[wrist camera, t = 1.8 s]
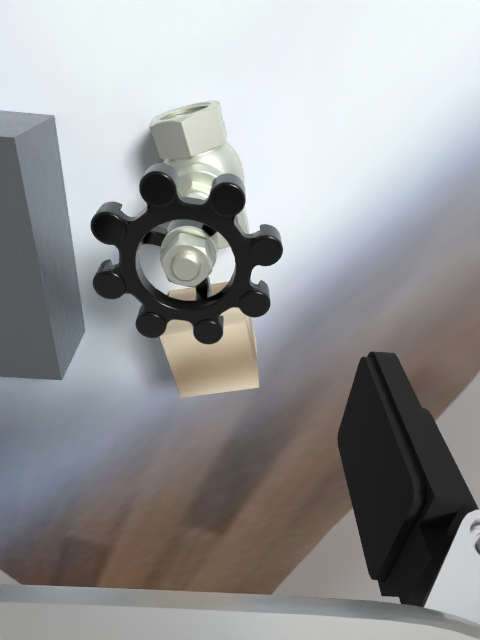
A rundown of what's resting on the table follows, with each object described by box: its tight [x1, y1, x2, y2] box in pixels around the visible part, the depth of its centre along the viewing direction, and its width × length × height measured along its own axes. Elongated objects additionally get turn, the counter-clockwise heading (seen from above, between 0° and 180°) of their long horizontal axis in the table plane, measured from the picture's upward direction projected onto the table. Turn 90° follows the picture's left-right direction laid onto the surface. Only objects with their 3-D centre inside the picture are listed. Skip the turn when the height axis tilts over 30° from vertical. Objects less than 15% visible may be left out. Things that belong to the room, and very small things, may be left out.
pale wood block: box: [159, 282, 259, 398], centre depth 28 cm, size 5×5×5 cm
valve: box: [91, 101, 283, 345], centre depth 20 cm, size 7×7×12 cm
